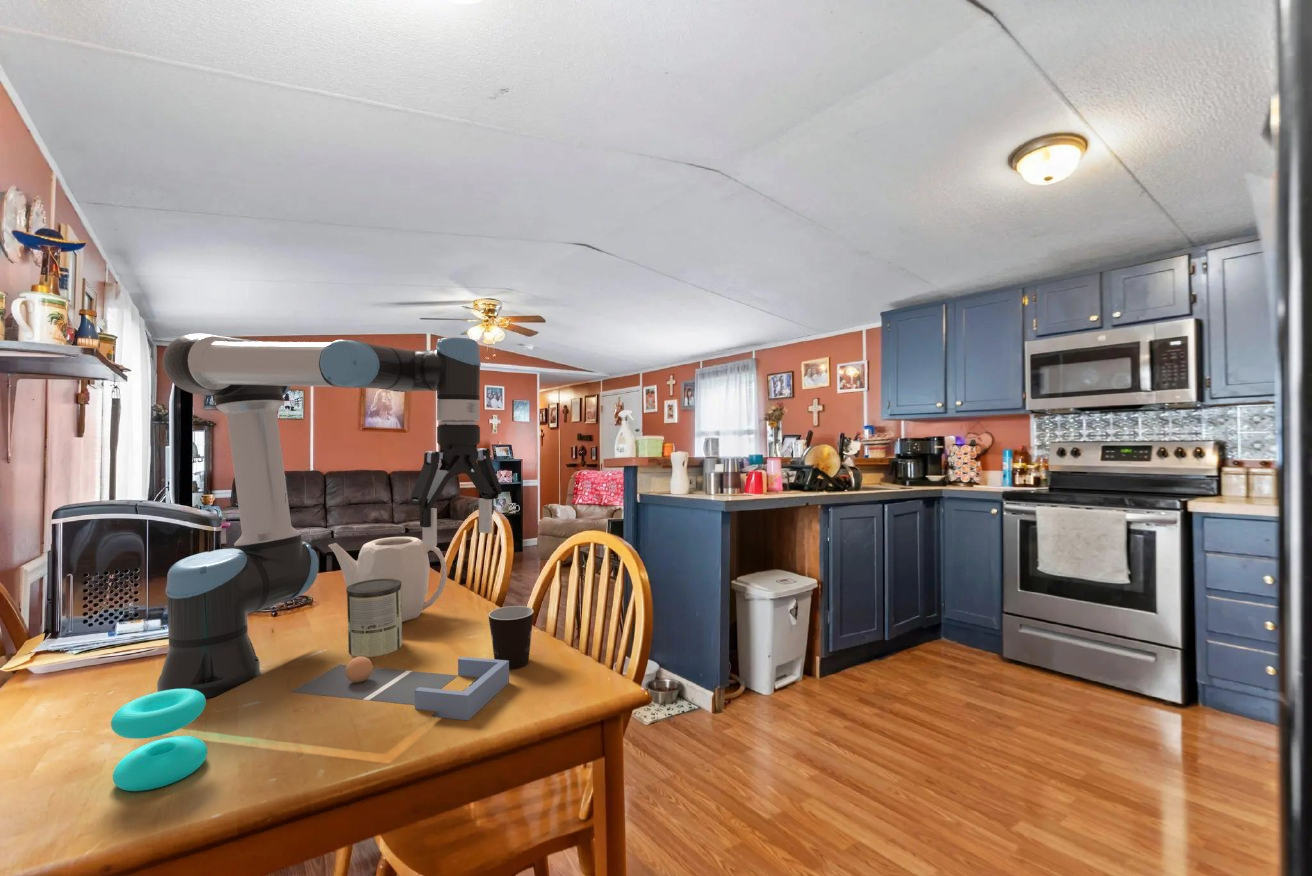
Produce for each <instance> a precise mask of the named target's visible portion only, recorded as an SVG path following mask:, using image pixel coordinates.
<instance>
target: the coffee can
mask: <svg viewBox="0 0 1312 876" xmlns="http://www.w3.org/2000/svg"><path fill="white" fill-rule="evenodd" d="M345 591H346V601H347V602H346V604H347V637H348V641H347V642H348V646H347V647H348V654H349V655H350V656H352V657H354V658H356V657H361V656H362V657H366V658H373V657H381V656H384V655H388V654H391V653H393V652H396V651H398V650H399V649H400V648H401V647H403V628H402V627H403V624H402V623H403V622H402V619H401V581H399V580H396V579H373V580H366V581H361V582H357V583H354V584H352V585H350V586H348V587H346V589H345Z"/></svg>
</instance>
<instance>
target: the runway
mask: <svg viewBox="0 0 1312 876" xmlns="http://www.w3.org/2000/svg"><path fill="white" fill-rule="evenodd" d="M346 666H347V664H339V665H337V666H335V667H333V668H331V669H329V670H327V671H326V672H323V673H322V674H320V675H319V676H316V677H315V678H313V679H311V680H309V681H307V682H306V683H303V684H301V685H300V686H298V687H296V688H295V689H292V690H291V691H290V693H293V694H294V693H296V694H305V695H314V696H315V695H316V696H324V697H333V698H335V697H336V698H341V699H342V698H344V699H352V700H363V701H370V702H371V701H372V702H383V703H391V704H400V705H410V706H411V705H412V706H415V692H414V690H416V689H417V688H418V687H422V688H432V689H443V688H445V686H447V685H448V684H449V683H451V682H452V681H453V680H454V679H456V678H457V677H459V676H458V674H450V673H449V674H447V673H437V672H436V673H434V672H426V671H416V670H415V671H414V670H404V669H393V668H391V669H390V668H383V667H382V668H381V667H373V669H372V673H371V675H370V676H369V678H367V679H366V680H365V681H363V682H360V683H354V682H351V681H350V680H349V679H348V678H347V677H346V674H345V670H346Z"/></svg>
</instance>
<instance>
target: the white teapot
mask: <svg viewBox="0 0 1312 876" xmlns="http://www.w3.org/2000/svg"><path fill="white" fill-rule="evenodd" d="M327 546H328V547H329V548H330V549H331V551H333V553H334V555H335V557H336V560H337V561H338V564H339V566H340V569H341V573H342V576H343V580H344V583H345V586H346V588H347V587H348V586H350V585H352V584H354V583H357V582H361V581H366V580H373V579H396V580H399V581H401V619H402V623H405V622H407V621H409V620H414V619H417V618H419V617H420V615H421V614H422V612H423V611H425V610H426V609H427V608H429V607H430V606H433V604H434V603H435V602H436V601H437V600H438V598H439V597H440V596H441V595H442V593H443V592H444V589H445V585H446V582H447V577H448V576H447V575H448V568H447V564H446V560H445V557H444V555H443V553H442V551H441V549H440V548H439V547H437V546H427V545H423V539H420V538H418V537H415V536H414V537H413V536H391V537H383V538H378V539H374V540H371V541H368V542H366V543H364V544H363V545H362V546H361V549H360V550H359V553H358V556H357V557H358V558H357V560H355V559H354V558H353V557H352V556H351V555H350V554H349V553H348V552H347V551H346V550H345V549H344V548H343V547H341V545H339V544H338V543H336V542H334V543H331V544H328V545H327ZM430 551H432V552H434V553H435V554H436V556H437V557H438V558H439V562H440V567H441V572H440V573H441V575H440V580H439V583H438V586H437V589H436V591H435V592H434V593H433V594H432V596H431V597H430V598H429V599H428V600H427V601H426V599H427V595H428V589H429V581H430V580H429V579H430V569H431V568H430V567H431V566H430V560H429V555H428V553H429V552H430Z"/></svg>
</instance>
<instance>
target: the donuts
mask: <svg viewBox="0 0 1312 876" xmlns="http://www.w3.org/2000/svg"><path fill="white" fill-rule="evenodd" d="M206 699H207V698H205V696H204V695H203V694H202V693H201V692H199V691H197V690H194V689H171V690H165V691H160V692H157V691H156V692H152V693H149V694H146V695H143V696H139V697H137V698H135V699H133V700H131V701H129V702H127V703H125V704H123V705H122V706H121V707H120V708H119V709H118V710H116V711H115V713H114V714H113V716H112V718H111V720H110V726H111V730H112V731H113V732H114V733H115V734H116V735H118V737H123V738H125V739H135V740H136V739H137V740H138V739H139V740H140V739H141V740H142V739H149V738H151V739H152V738H156V737H159V736H163V735H167V734H170V733H173V732H175V731H176V732H177V730H180V729H182V728H184V727H187V726H188V725H190V724H191V723H193V722H194V721H195V720H196V719H197V718H198V717H200V715H201V714H202V713H203V711H204V710H205V707H206V705H207V700H206ZM207 747H208V746H207V745H206V743H205V742H204V741H203V740H201V738H197V737H194V736H189V735H176V736H169V737H168V736H167V737H165V738H161V739H157V740H156V739H155V740H154V741H150V742H148V743H146V744H144V745H142V746H140V747H137V748H136V749H134V750H132V751H131V752H129V753H128V754H126V755H125V756H124V757H123V758H122V759H121V760H120V761H119V762H118V763H117V764H116V766H115V768H114V770H113V773H112V781H113V783H114V785H115V786H116V787H117V788H119V789H121V790H124V791H127V792H128V791H129V792H142V791H143V792H144V791H149V790H154V789H159V788H163V787H165V786H168V785H170V784H174V783H176V782H179V781H180V780H182V779H184V778H186V777H188V776H190V775H191V774H193V773H194V772H195V771H197V770H198V769H199V768H200V767H201V766H202V765H203V764H204V762H205V761H206V759H207V755H208V748H207Z"/></svg>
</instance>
